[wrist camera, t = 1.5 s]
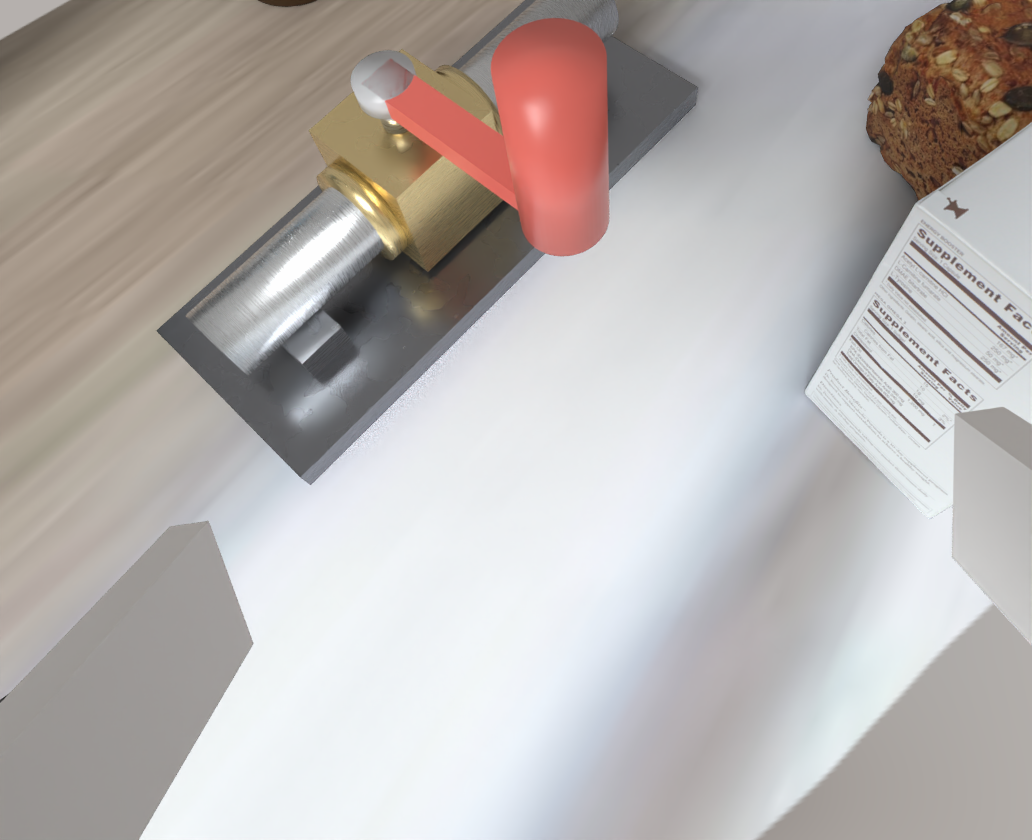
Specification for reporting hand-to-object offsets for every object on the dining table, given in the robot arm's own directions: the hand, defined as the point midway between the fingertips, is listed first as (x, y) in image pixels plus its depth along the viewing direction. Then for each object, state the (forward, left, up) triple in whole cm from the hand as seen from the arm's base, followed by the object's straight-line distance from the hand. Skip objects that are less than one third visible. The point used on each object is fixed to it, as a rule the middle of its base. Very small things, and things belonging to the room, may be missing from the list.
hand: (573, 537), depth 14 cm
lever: (-21, +7, -16) cm, 28 cm away
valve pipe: (-27, +6, -27) cm, 39 cm away
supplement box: (-1, +22, -27) cm, 35 cm away
